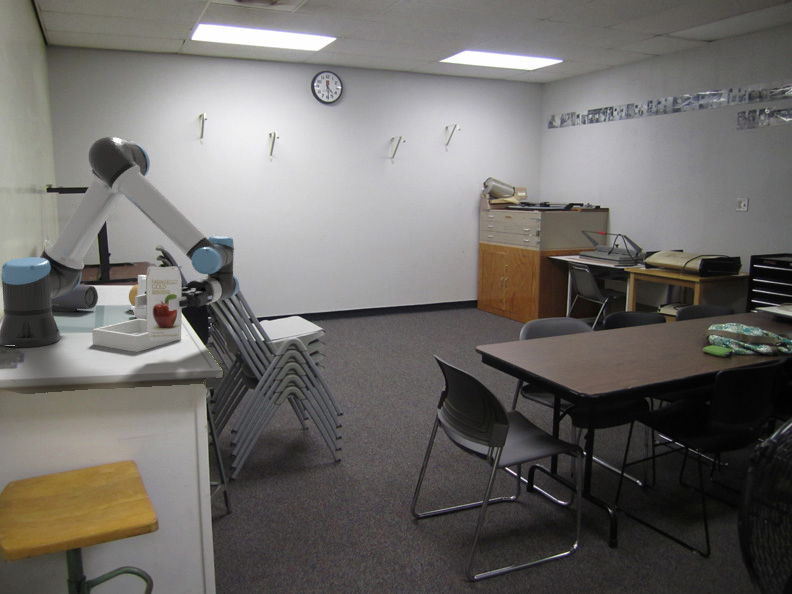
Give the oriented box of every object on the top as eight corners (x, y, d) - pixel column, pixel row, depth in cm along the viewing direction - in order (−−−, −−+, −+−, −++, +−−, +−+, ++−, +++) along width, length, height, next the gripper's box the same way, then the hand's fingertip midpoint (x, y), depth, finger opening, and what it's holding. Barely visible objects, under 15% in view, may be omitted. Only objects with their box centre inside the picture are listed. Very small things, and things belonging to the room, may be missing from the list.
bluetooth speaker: (99, 309, 219) (98, 282, 218) (84, 314, 210) (83, 286, 209) (41, 305, 222) (39, 278, 220) (23, 310, 212) (21, 282, 211)
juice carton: (145, 335, 161) (145, 265, 158) (179, 334, 165) (179, 265, 162) (147, 342, 155) (146, 269, 152) (182, 340, 158) (182, 269, 155)
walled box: (137, 352, 166) (136, 336, 166) (92, 344, 172) (92, 329, 171) (181, 338, 183) (181, 324, 182) (139, 332, 188) (139, 318, 188)
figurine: (152, 314, 216) (151, 273, 213) (156, 319, 208) (155, 276, 205) (130, 315, 212) (129, 273, 210) (133, 320, 204) (132, 277, 202)
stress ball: (157, 311, 221) (157, 284, 219) (128, 312, 217) (127, 285, 215) (157, 306, 230) (157, 280, 228) (129, 307, 226) (128, 281, 225)
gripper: (236, 308, 173) (190, 322, 152) (169, 300, 179) (116, 313, 157) (236, 282, 172) (190, 293, 151) (169, 275, 177) (116, 285, 156)
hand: (153, 303), depth 154 cm, fingers closed on juice carton, 9 cm apart
